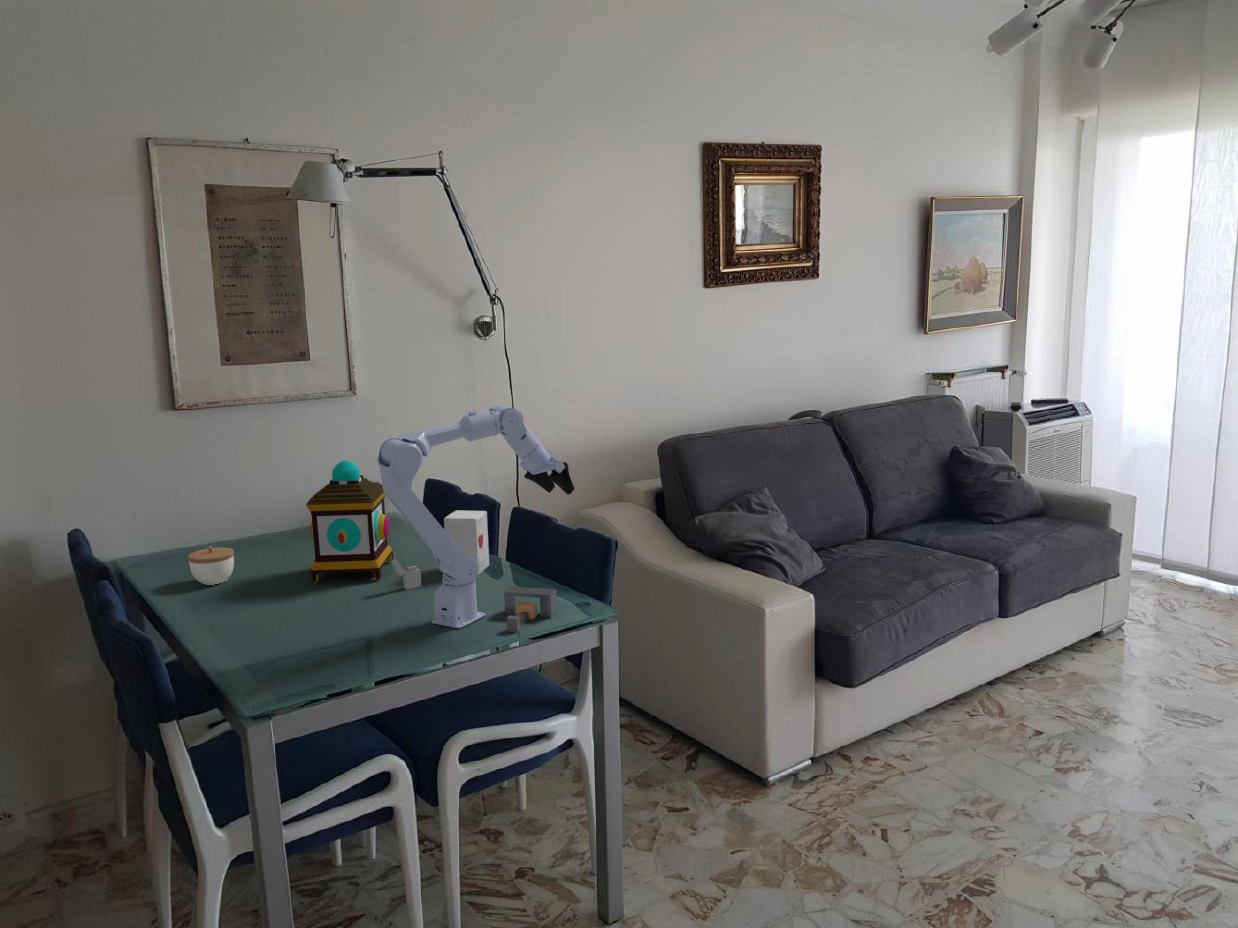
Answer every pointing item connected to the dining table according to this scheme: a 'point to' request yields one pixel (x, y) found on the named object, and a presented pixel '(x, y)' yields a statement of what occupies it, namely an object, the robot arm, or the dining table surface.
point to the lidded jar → (212, 564)
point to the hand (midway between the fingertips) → (561, 490)
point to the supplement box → (470, 534)
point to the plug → (521, 616)
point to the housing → (546, 596)
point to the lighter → (408, 575)
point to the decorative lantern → (349, 524)
